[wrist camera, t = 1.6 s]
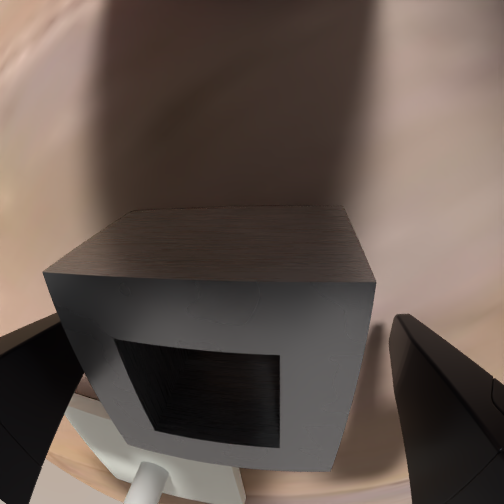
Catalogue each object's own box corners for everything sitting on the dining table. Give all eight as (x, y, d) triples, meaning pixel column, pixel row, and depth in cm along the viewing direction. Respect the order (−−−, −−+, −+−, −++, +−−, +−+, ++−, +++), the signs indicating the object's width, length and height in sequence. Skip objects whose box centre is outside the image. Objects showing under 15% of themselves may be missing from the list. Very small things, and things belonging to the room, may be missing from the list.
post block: (229, 427, 12) (204, 522, 8) (246, 497, 16) (233, 555, 12) (63, 389, 14) (21, 449, 9) (121, 469, 18) (99, 516, 13)
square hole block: (342, 206, 8) (376, 281, 4) (328, 373, 10) (330, 471, 7) (132, 210, 9) (42, 272, 5) (168, 362, 11) (127, 444, 7)
